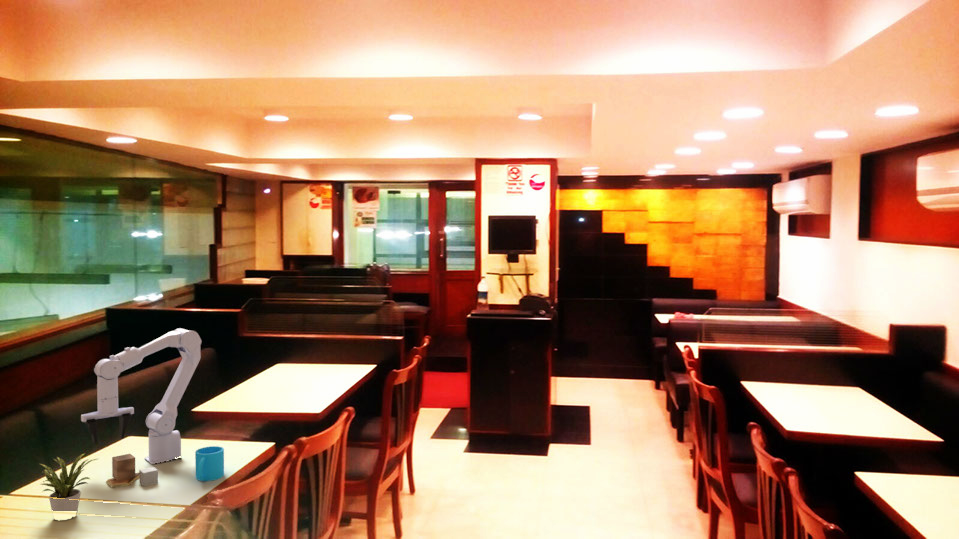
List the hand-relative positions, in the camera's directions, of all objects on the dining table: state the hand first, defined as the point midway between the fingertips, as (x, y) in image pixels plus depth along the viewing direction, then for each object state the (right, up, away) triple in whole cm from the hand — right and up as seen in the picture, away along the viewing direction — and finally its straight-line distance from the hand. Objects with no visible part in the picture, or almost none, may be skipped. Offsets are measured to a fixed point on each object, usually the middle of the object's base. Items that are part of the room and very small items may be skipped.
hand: (108, 440), depth 206 cm
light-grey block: (+17, -11, -9) cm, 22 cm away
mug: (+34, -11, -5) cm, 36 cm away
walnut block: (+9, -9, -8) cm, 15 cm away
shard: (+9, -11, -8) cm, 16 cm away
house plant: (+9, -11, -33) cm, 36 cm away
